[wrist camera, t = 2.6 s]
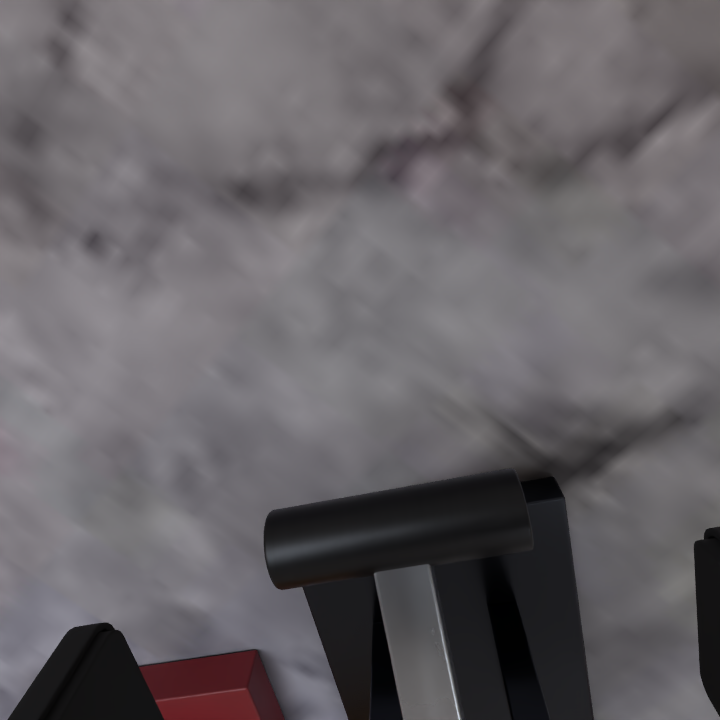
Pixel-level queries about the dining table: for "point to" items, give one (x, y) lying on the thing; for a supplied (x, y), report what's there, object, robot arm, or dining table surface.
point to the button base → (213, 688)
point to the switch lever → (404, 564)
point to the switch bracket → (476, 629)
